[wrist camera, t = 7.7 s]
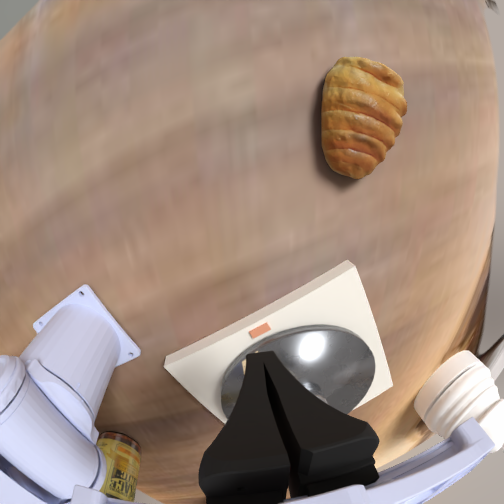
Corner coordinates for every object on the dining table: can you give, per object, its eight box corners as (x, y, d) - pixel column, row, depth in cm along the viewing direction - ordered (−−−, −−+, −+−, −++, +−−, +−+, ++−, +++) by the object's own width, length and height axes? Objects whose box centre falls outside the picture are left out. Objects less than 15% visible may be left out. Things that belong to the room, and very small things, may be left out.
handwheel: (390, 373, 25) (407, 397, 21) (283, 444, 27) (290, 470, 23) (322, 289, 20) (343, 316, 17) (186, 391, 22) (184, 424, 18)
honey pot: (481, 339, 30) (548, 401, 13) (457, 393, 34) (506, 453, 17) (427, 367, 29) (499, 454, 12) (404, 421, 33) (452, 497, 16)
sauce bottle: (149, 453, 28) (141, 573, 9) (112, 451, 28) (95, 562, 9) (128, 428, 26) (108, 566, 7) (89, 426, 26) (59, 548, 7)
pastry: (373, 187, 21) (399, 194, 17) (298, 161, 19) (316, 161, 16) (395, 89, 18) (422, 82, 15) (326, 56, 17) (346, 39, 13)
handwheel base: (258, 442, 29) (260, 452, 27) (165, 356, 23) (163, 368, 21) (387, 378, 28) (393, 386, 26) (347, 259, 22) (356, 266, 20)
